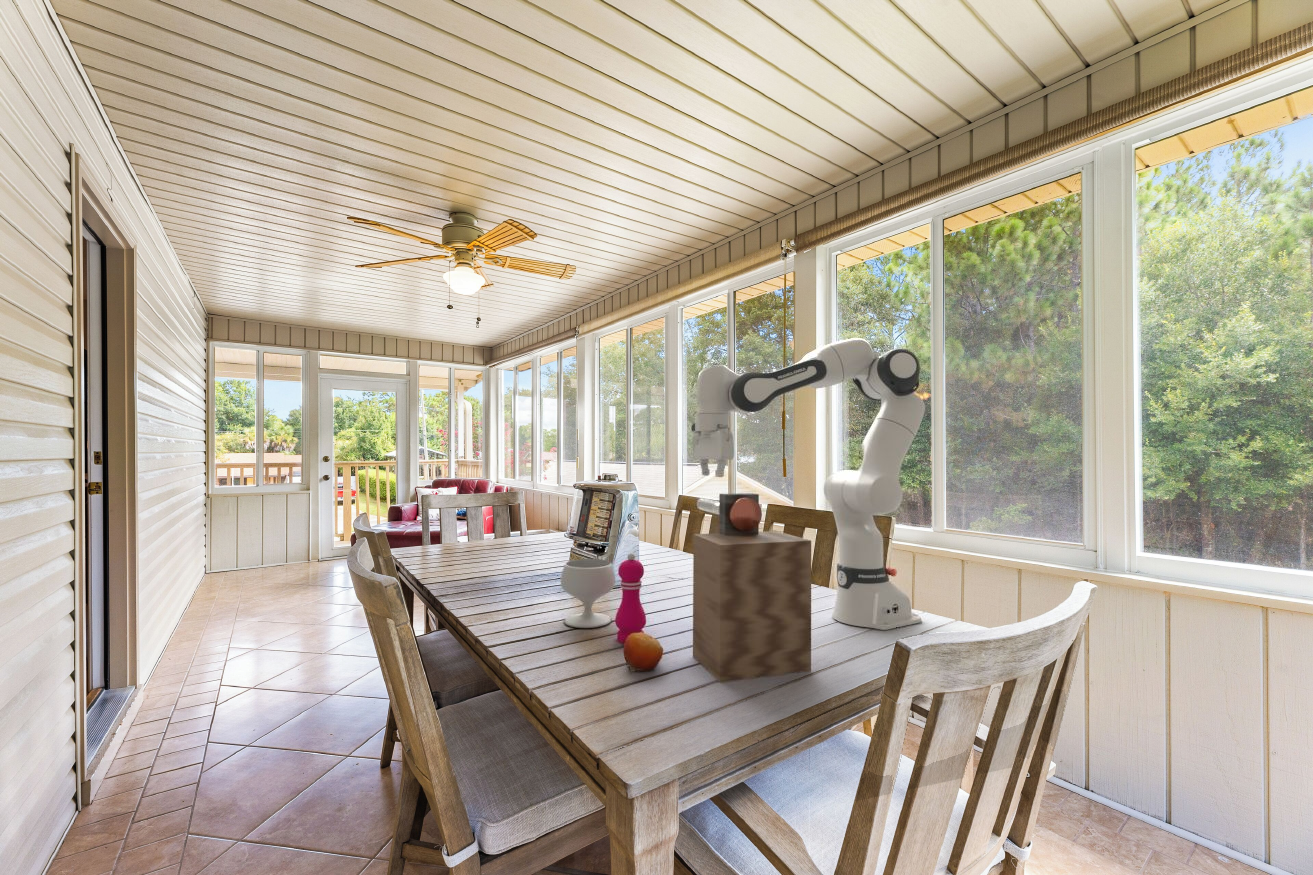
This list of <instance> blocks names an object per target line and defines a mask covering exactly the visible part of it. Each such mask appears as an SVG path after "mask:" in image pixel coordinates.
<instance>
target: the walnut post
mask: <svg viewBox="0 0 1313 875" xmlns="http://www.w3.org/2000/svg"><path fill="white" fill-rule="evenodd" d="M759 496H760V494H758V493H753V492H752V493H751V492H750V493H749V492H747V493H719V496H718V497H719V498H718V501H719V514H718V515H719V516H718V533H694V534H693V541H692V542H693V546H692V547H693V548H692V549H693V550H692V551H693V553H692V554H693V558H692V559H693V561H692V562H693V565H692V567H693V568H692V570H693V571H692V577H693V578H692V579H693V580H692V582H693V583H692V584H693V585H692V589H693V590H692V594H693V595H692V658H693V659H695V660H696V661H697V662H698V663H699V664H700V665H701V666H702V667H703V668H704V669H705V670H706V671H707V672H709V674H711V676H713V677H714V678H715V680H717V681H718V683H726V682H734V681H742V680H749V679H756V678H757V679H758V678H765V677H772V676H780V675H788V674H795V673H805V672H811V671H812V540H811V539H808V538H807V539H806V538H803V537H799V536H795V535H792V534H789V533H785V532H782V531H777V530H771V531H768V530H767V531H766V530H764V531H759V528H760V527H759V525H760V524H759V525H758V526H757V527H756V528H755V529H753V530H751V531H741V530H738V529H736V528H735V527H734V526H733V525H732V524H731V522H730V520H729V509H730V507H731V505H732V503H733V502H734V501H736V500H737V499H739V498H750V499H753V500H755V501H756V502H757V503H758V504H759V505H760V502H759V501H760V500H759V498H760V497H759Z"/></svg>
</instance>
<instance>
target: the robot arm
mask: <svg viewBox="0 0 1313 875" xmlns="http://www.w3.org/2000/svg"><path fill="white" fill-rule="evenodd" d="M920 371H921V366H920V361H919V359H918V357H917V356H916V355H915V353H913V351H911V350H909V349H905V348H894V349H891V350H887V351H886V352H884V353H883V354H882V355H878V354H876V352H874V349H873V347H872V346H871V343H869V342H868V340H865V339H864V338H861V337H860V338H859V337H855V338H854V337H853V338H849V339H844V340H839V341H838V340H837V341H835V342H832V343H829V344H826V345H824V346H821V347H819V348H818V347H817V349H814V350H813V351H811V352H809V353H807V354H806V355H804V356H803V358H802V359H800V361H798V362H796V363H794V364H792V365H789V366H785V367H783V368H781V369H777V370H774V371H771V372H758V371H757V372H756V371H751V372H745V373H743V374H741V375H740V374H738V373H736V372H735V371H733V370H731V369H730V368H729V367H727V366H726V365H725V364H715V365H711V366H706V367H704V368H703V369H701V371H700V372H699V373H698V374H697V381H696V403H697V409H696V413H695V415H696V416H695V417H696V418H695V420H694V422H693V423H692V424H691V425H690V433H692V434H691V435H692V438H691V443H692V444H691V446H692V447H691V448H692V455H693V459H697V460H699V465H700V469H701V475H702V476H709V475H710V472H711V471H710V469H709V460H716V470H715V471H714V472H715V474H714V475H715V478H723V477H724V476H725V468H726V466H727V461H729V460H733V459H734V456H735V448H734V445H735V444H734V436H733V432H732V431H731V429H730V412H735V413H737V414H750V413H756V412H759V411H762V410H763V409H765V408H767V407H768V405H769V404H770V403H771V402H772V401H774V399H776V398H778V397H780V396H782V395H785V394H787V393H790V392H793V391H795V390H798V389H801V388H804V387H811V388H812V389H822V388H828V387H831V386H836V385H838V384H841V383H844V382H846V381H849V380H852V382H853V383H854V384H855V386H856V387H857V389H858V391H859V393H860V394H861V395H862V396H863V397H864V398H865V399H867V400H868V401H873V402H880V409H879V412H878V413H877V415H876V417H875V419H874V420H873V422H872V424H871V426H870V428H869V430H868V431H867V433H866V435H865V436H864V438H863V441H862V443H861V445H860V446H861V451H862V453H863V456H862V461H861V465H860V467H859V468H858V469H857V470H852V469H845V470H840V471H836V472H834V473H832V474H830V475H828V477H827V478H826V479H825V482H824V484H823V493H824V497H825V499H826V500H827V501H828V503H829V504H830V507H831V509H832V513H833V518H834V520H835V525H836V530H837V538H838V540H837V541H838V544H837V545H838V563H836V580H837V591H836V598H835V599H836V600H835V604H834V607H833V612H832V615H831V617H832V618H833V619H834V620H836V621H838V622H840V623H843V624H846V625H850V626H856V627H863V628H864V627H865V628H871V629H877V630H880V631H881V630H883V631H887V630H891V629H896V627H897V628H899V627H905V626H910V625H914V624H920V623H922V618H921V616H919V615H918V614H916V613H915V612H912V611H913V610H912V604H911V601H910V600H911V599H910V597H909V596H908V595H907V594H906V593H905V592H904V591H903V590H902V589H901V588H899V587H898V586H896V585H895V584H894V583H892V582H891V581H890V578H889V576H891V577H896V576H897V574H898V571H897V569H896V568H892V567H885V566H884V537H883V535H882V533H881V531H880V530H879V528H878V527H877V525H876V522H875V519H874V516H879V515H881V516H882V515H886V514H887V515H888V514H891V513H893V512H895V511H896V510H898V508H899V507H900V505H901V504H902V501H903V497H904V496H903V495H904V494H903V488H902V485H901V484H900V473H901V472H900V471H901V468H902V464H903V462H904V459H905V458H906V455H907V453H908V451H909V449H910V447H911V445H912V443H913V442H914V439H915V437H916V436H917V433H918V431H919V429H920V426H921V425H922V424H921V423H922V421H923V418H924V415H925V410H926V405H925V402H924V400H923V399H922V397H920V396H919V395H917V394H916V393H915V392H916V391H917V389H918V388H919V387H920V378H919V376H920V373H921V372H920Z"/></svg>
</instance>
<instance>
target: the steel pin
mask: <svg viewBox="0 0 1313 875" xmlns="http://www.w3.org/2000/svg"><path fill="white" fill-rule="evenodd" d="M696 507H697V508H698V510H701V511H705V512H707V513H710V514H711V513H712V514H716V515H719V500H714V499H709V498H706V497H705V498H704V497H700V498H699V499H698V500H697V501H696ZM762 512H763V511H762V508H761V506H760V503H759V504H758V503H757V502H756V501H755V500H753V499H750V498H739V499H737V500H736V501H734V502H733V503H732V505H731V507H730V509H729V520H730V522H731V524H732V525H733V526H734V527H735V528H736V529H738V530H741V531H751V530H753V529H755V528H756V527H757V526H758V525H760V524H761V521H762V516H763V513H762Z"/></svg>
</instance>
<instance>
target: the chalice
mask: <svg viewBox="0 0 1313 875" xmlns="http://www.w3.org/2000/svg"><path fill="white" fill-rule="evenodd" d="M616 580H617V579H616V572H615V569H614V566H613V563H612V562H611V561H609V560H607V559H602V558H601V559H600V558H578V559H573V560H569V561H567V562H566V563H565V564H564V566H563V569H562V571H561V575H560V585H561V587H562V590H563V591H564V592H565V593H566V594H568V595H570V596H572V597H574V598H576V599H578V600H579V601H580V602H581V603H582V605H583V607H584V608H583V609H584V610H583V612H582V613H575V614H571V615H568V616H567V617H565V618H564V619H563V623H564V624H565V625H567V626H569V627H571V628H572V627H574V628H580V629H590V628H591V629H594V628H599V627H603V626H606V625H609V624H610V623H611V622H612V618H611V616H609V615H607V614H604V613H598V612H593V609H592V607H593V606H594V605H593V604H594V603H595V602H596V601H597V600H598V599H600V598H601V597H603V596H605V595H606V594H608V593H610V592H611V591H612V590H613V589H614V586H615V585H616V582H617V581H616Z"/></svg>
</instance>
